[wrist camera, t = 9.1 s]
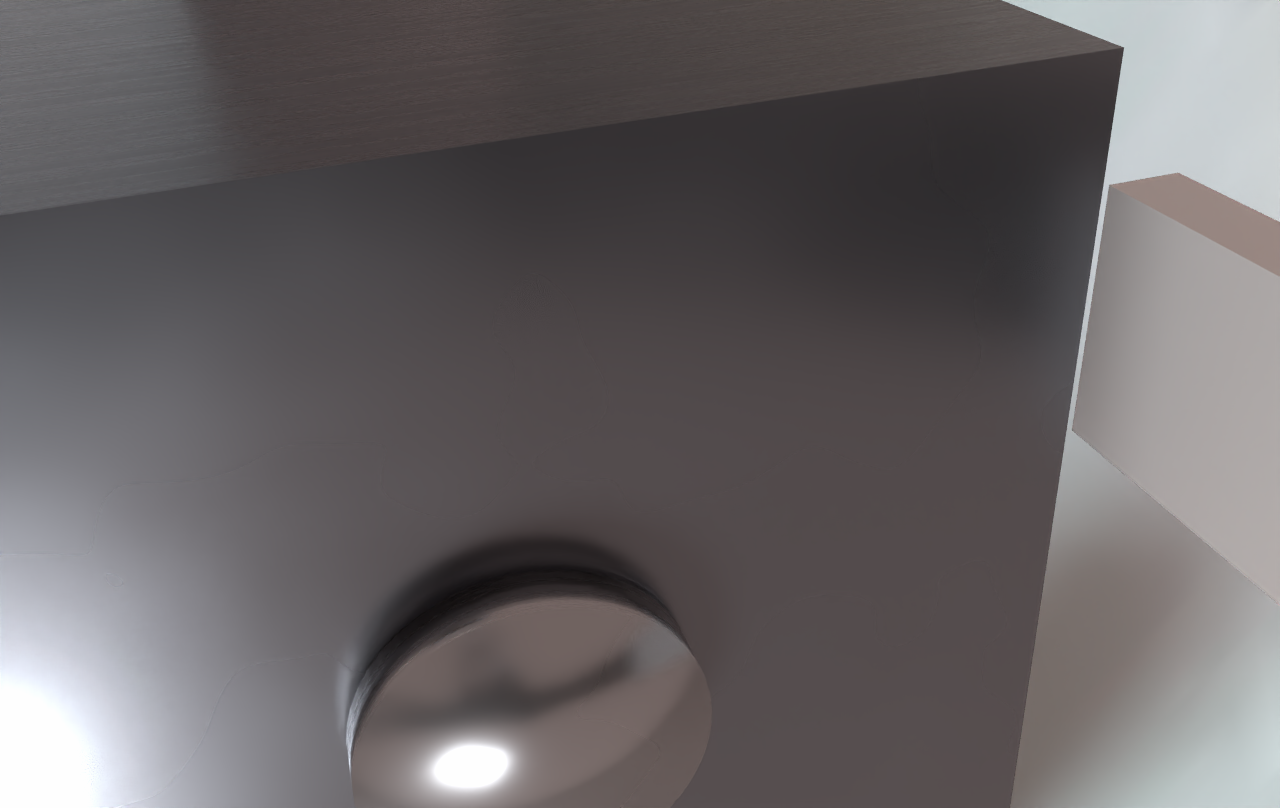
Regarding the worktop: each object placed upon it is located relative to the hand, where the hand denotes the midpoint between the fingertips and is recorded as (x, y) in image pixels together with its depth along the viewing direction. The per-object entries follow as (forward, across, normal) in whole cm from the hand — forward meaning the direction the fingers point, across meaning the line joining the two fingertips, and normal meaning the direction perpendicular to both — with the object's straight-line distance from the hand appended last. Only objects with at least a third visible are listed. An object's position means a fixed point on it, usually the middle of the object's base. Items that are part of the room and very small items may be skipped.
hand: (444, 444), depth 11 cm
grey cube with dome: (+5, 0, 0) cm, 5 cm away
